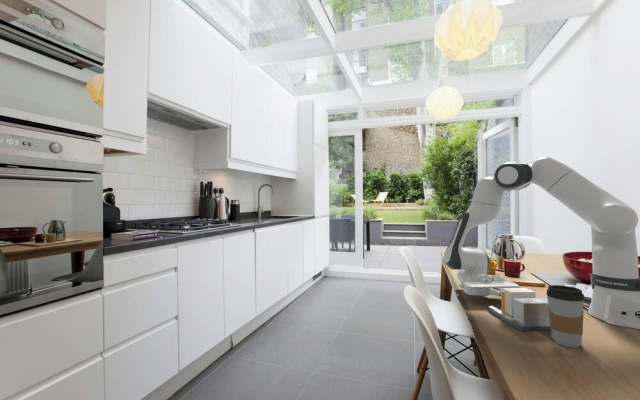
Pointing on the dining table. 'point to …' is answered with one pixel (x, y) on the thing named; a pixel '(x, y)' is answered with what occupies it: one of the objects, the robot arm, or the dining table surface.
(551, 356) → the dining table surface
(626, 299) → the robot arm
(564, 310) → the coffee cup
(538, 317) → the base
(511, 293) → the cream rectangular block
